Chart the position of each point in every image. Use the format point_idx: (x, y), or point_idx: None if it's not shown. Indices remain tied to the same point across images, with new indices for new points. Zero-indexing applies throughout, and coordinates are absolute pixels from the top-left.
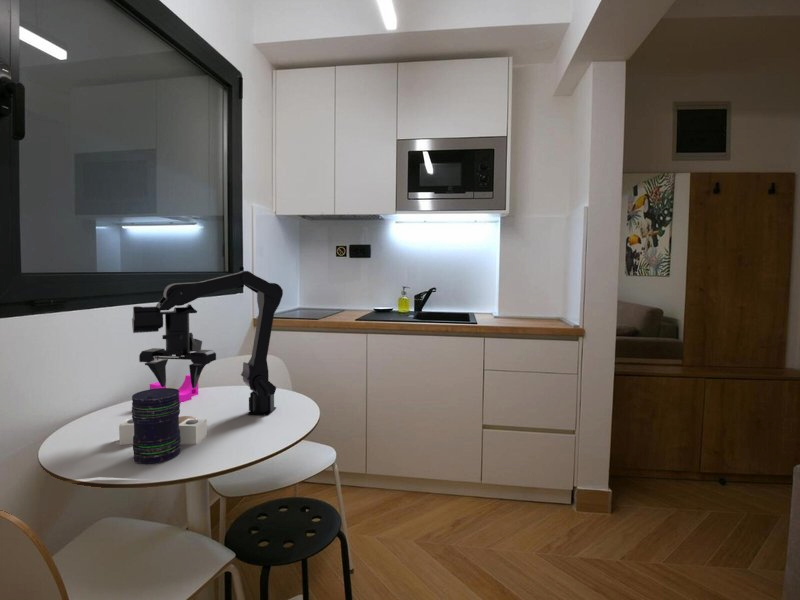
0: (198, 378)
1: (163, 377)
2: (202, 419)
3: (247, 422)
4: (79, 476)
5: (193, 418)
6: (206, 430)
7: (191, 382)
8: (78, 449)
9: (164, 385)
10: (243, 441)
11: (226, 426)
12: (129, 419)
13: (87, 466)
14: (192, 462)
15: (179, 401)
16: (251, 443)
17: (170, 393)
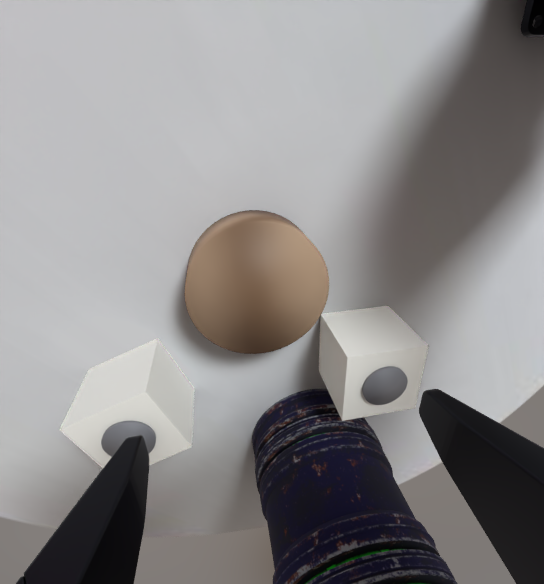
0: (523, 447)
1: (120, 552)
2: (412, 350)
3: (505, 110)
4: (208, 531)
5: (304, 249)
6: (402, 320)
7: (455, 476)
8: (34, 468)
9: (143, 452)
10: (512, 304)
11: (423, 183)
12: (85, 430)
13: (179, 508)
14: (412, 432)
15: (452, 581)
16: (536, 311)
17: None
